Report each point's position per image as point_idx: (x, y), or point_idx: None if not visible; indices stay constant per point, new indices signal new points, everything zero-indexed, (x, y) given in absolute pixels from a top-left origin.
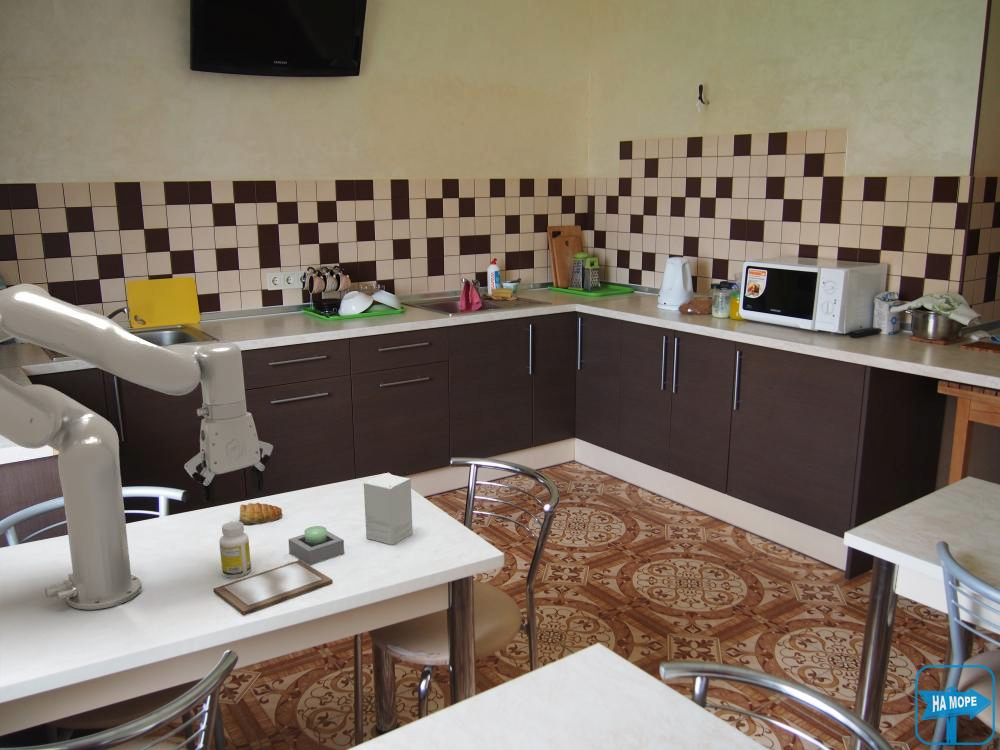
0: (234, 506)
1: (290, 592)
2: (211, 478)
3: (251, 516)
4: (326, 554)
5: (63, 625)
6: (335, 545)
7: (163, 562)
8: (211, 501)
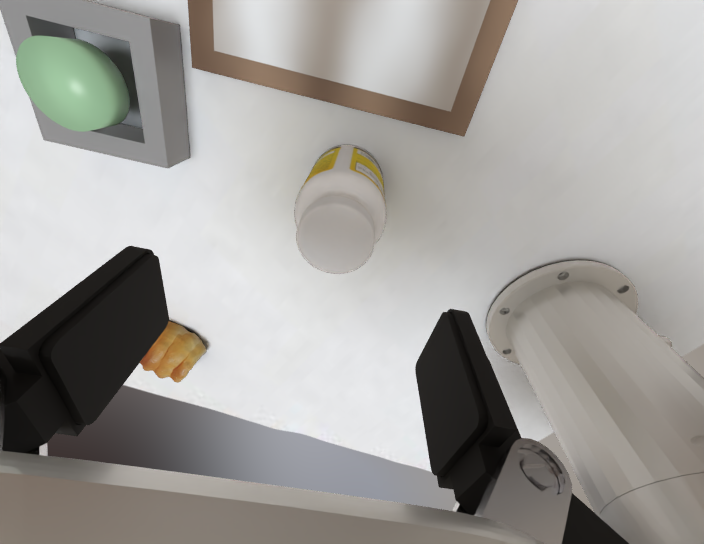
0: (181, 395)
1: None
2: (508, 491)
3: (181, 343)
4: (100, 4)
5: (699, 276)
6: None
7: (400, 331)
8: (472, 325)
